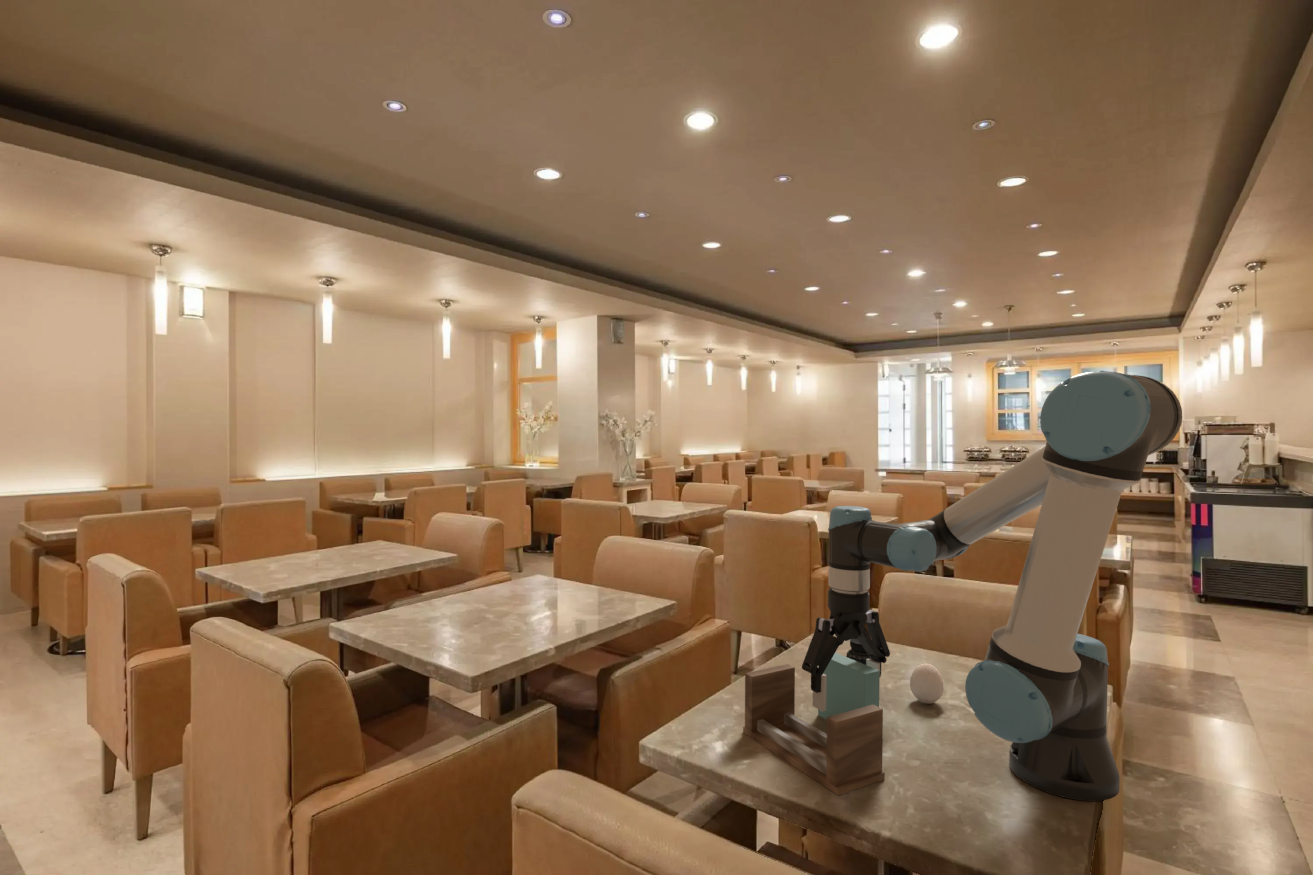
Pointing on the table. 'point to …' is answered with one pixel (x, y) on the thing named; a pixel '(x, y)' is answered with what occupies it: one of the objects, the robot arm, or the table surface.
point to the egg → (926, 683)
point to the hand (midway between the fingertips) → (846, 701)
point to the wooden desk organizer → (814, 733)
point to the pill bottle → (857, 652)
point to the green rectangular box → (849, 686)
